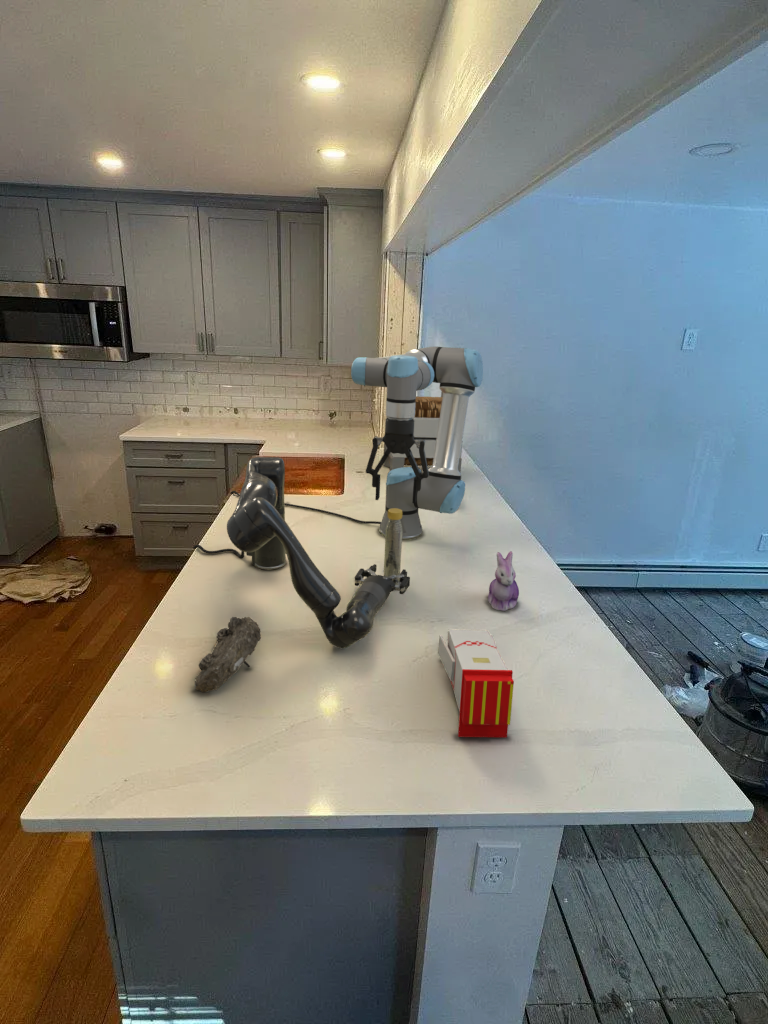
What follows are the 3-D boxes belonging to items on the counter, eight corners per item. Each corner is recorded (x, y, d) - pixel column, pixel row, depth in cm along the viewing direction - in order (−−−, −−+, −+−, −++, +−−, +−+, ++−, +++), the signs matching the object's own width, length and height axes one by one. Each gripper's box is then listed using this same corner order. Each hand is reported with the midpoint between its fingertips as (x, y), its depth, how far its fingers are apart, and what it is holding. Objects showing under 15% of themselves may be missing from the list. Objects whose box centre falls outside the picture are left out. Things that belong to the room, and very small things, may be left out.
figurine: (500, 615, 149) (507, 563, 144) (477, 598, 157) (483, 548, 152) (528, 608, 153) (536, 557, 148) (504, 591, 161) (510, 543, 156)
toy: (488, 613, 130) (523, 677, 101) (484, 667, 133) (517, 744, 104) (435, 612, 130) (455, 676, 101) (432, 666, 133) (451, 743, 103)
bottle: (399, 589, 160) (403, 515, 153) (382, 588, 160) (386, 514, 153) (399, 582, 165) (403, 509, 157) (383, 581, 165) (386, 508, 157)
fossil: (214, 619, 133) (260, 589, 128) (241, 647, 136) (288, 619, 131) (174, 686, 113) (226, 654, 108) (207, 716, 116) (260, 687, 111)
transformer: (382, 463, 289) (386, 382, 275) (445, 464, 293) (451, 384, 279) (390, 482, 257) (394, 392, 243) (460, 483, 261) (468, 394, 247)
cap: (402, 520, 154) (402, 513, 153) (387, 519, 154) (387, 512, 153) (402, 515, 157) (402, 508, 157) (387, 514, 157) (387, 507, 157)
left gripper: (399, 587, 141) (415, 561, 155) (345, 577, 144) (366, 553, 159) (397, 614, 143) (413, 586, 158) (344, 603, 147) (365, 577, 162)
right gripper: (443, 418, 148) (437, 499, 156) (360, 412, 151) (358, 492, 159) (442, 423, 141) (435, 508, 149) (355, 417, 144) (353, 501, 152)
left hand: (389, 569), depth 158 cm, fingers open, 8 cm apart
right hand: (395, 500), depth 154 cm, fingers open, 9 cm apart
